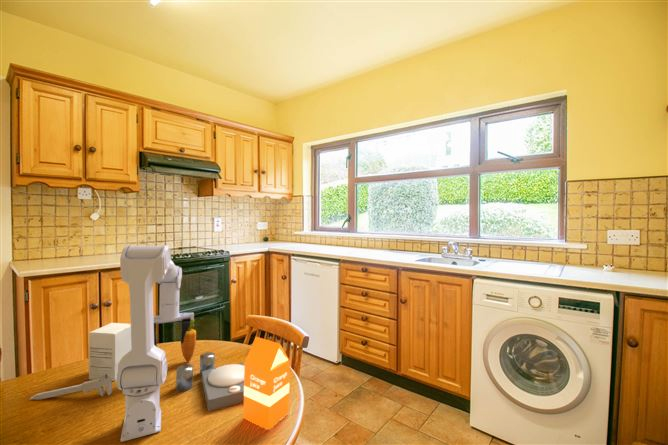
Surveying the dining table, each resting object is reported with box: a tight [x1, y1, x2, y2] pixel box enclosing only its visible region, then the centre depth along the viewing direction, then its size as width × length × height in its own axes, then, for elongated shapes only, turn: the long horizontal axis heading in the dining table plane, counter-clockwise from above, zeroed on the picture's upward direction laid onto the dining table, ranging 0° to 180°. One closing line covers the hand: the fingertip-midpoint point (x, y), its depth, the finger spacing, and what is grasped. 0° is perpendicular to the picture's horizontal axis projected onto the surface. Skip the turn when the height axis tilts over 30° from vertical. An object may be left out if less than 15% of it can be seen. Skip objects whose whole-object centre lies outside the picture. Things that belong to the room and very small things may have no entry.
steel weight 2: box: [199, 351, 216, 378], centre depth 101 cm, size 4×4×6 cm
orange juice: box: [243, 336, 291, 429], centre depth 80 cm, size 8×9×20 cm
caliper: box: [28, 374, 113, 401], centre depth 87 cm, size 20×1×6 cm, turn 98°
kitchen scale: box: [201, 362, 245, 412], centre depth 93 cm, size 17×14×4 cm
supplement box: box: [88, 322, 132, 382], centre depth 100 cm, size 9×9×15 cm
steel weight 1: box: [175, 363, 194, 393], centre depth 93 cm, size 4×4×6 cm
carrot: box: [180, 319, 197, 363], centre depth 108 cm, size 5×5×15 cm
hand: (168, 344), depth 101 cm, fingers open, 7 cm apart
